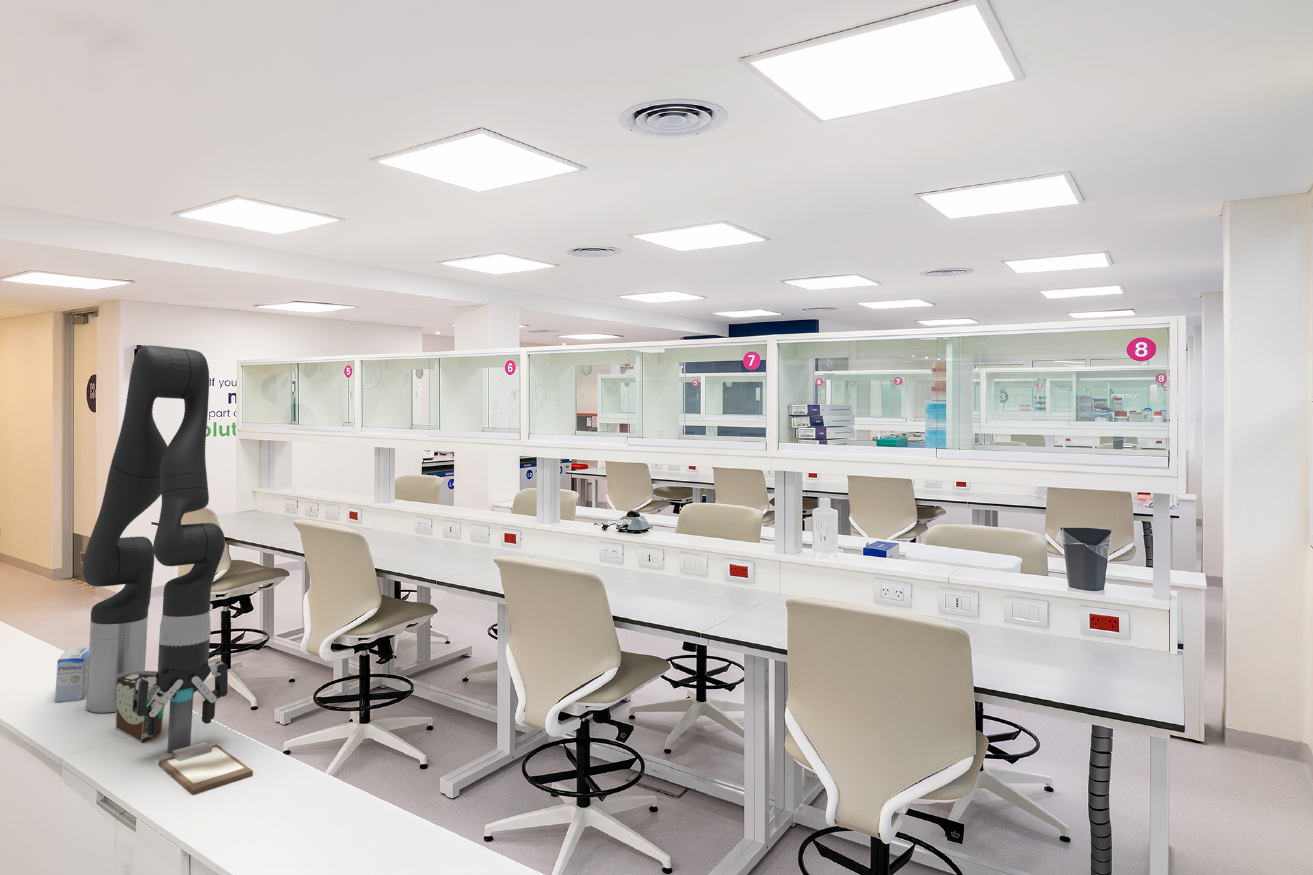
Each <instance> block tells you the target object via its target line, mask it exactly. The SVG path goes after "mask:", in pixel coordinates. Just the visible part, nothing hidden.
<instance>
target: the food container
mask: <svg viewBox="0 0 1313 875" xmlns="http://www.w3.org/2000/svg"><path fill="white" fill-rule="evenodd" d="M157 672H158V670H156V671H155V670H145V671H133V672H125V673H120V674H116V677H115V682H114V685H116V712H115V730H116V731H117V732H120V733H122V734H124V735H126V736H127V737H129V738H131V739H133V740H135V741H137V742H139V743H140V742H141V744H143V743H146V742H149V741H151V740H153V739H154V738H151V737H150V736H149V735H147V734H146V733H145V716H138V715H137V714H136V713H134V712H133V711H132V706H133V697H134V687H135V680H136V679H137V678H138V677H142V678H150V677H155V676H156V674H157ZM158 688H159V687H158V686H157V685H156V684H154V685H153V686H152V688H151V690H150V691H148V694H147V703H146V706H147V705H148V704H149V702H150V701H151V700H152V697H153V695H154V694H155V692H156V691H157V690H158ZM164 694H165V693H164ZM165 706H166V705H164V706H163V707H162V708H161V710H160V711H159V712H158V714H157V715H158V716H159V718H158V736H159V735H160V734H161V731H162V727H163V726H162V725H163V718H164V711H165ZM148 740H149V741H148Z"/></svg>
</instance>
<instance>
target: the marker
mask: <svg viewBox="0 0 1313 875" xmlns="http://www.w3.org/2000/svg"><path fill="white" fill-rule="evenodd" d="M194 694H195V693H194ZM194 694H193V687H192V688H187V689H183V690H178V691H176V696H175V698H174V697H171V699H170V700H169V715H168V731H167V732H168V733H167V734H168V735H167V748H166V749H167V753H168V754H171V755H172V751H174V750H177V749H181V748H185V747H188V746H192V745H191V743H192V742H191V741H192V727H193V726H192V723H193V720H192V719H193V709H194V707H193V706H194V702H193V701H194Z"/></svg>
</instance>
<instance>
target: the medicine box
mask: <svg viewBox="0 0 1313 875" xmlns="http://www.w3.org/2000/svg"><path fill="white" fill-rule="evenodd" d="M88 663H89V646H79V647H78V646H77V647H68V648H66V649H65V650H64V652H63V653H62V654H61V655H60V656H59V658H58V660H57V663H56V666H57V667H56V681H55V695H54V696H55V697H54V702H56V703H62V702H61V701H66V702H75V701H74V700H77V701H81V700H83V699H84V697H85V695H86V694H87V682H88ZM72 700H73V701H72ZM59 701H60V702H59Z"/></svg>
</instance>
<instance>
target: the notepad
mask: <svg viewBox="0 0 1313 875" xmlns="http://www.w3.org/2000/svg"><path fill="white" fill-rule="evenodd" d="M158 766H159V767H160V766H161V767H162V768H163V769H164V770H163V769H162V768H161V767H160V768H161V769H162V770H163V771H164V772H166V773H167V774H168V775H169V776H170V775H171V776H170V777H171V778H173V779H174V781H176V782H177V783H179V785H181V786H182V787H183V788H184V789H185V790H187V791H188V792H189V793H190V794H191V796H192V795H196V794H199V793H202V792H205V791H208V790H211V789H215V788H218V787H221V786H224V785H228V784H230V783H234V782H236V781H241V780H243V779H246V778H249V777H252V776H253V774H254V770H253V769H251V768H250V767H249V766H247V765H246V764H244V763H243V762H242V761H240V760H239V759H238V758H236V757H235V756H233V754H231V753H229V752H228V751H227V750H226V749H224V748H223V747H221V746H220V745H218V744H217V743H215V744H212V745H210V744H208V743H207V742H205V741H204V742H200V743H197V744H192V745H190V746H188V747H185V748H181V749H177V750H174V751H172V754H171V756H170V757H166V758H163V759H159V760H158Z"/></svg>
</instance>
